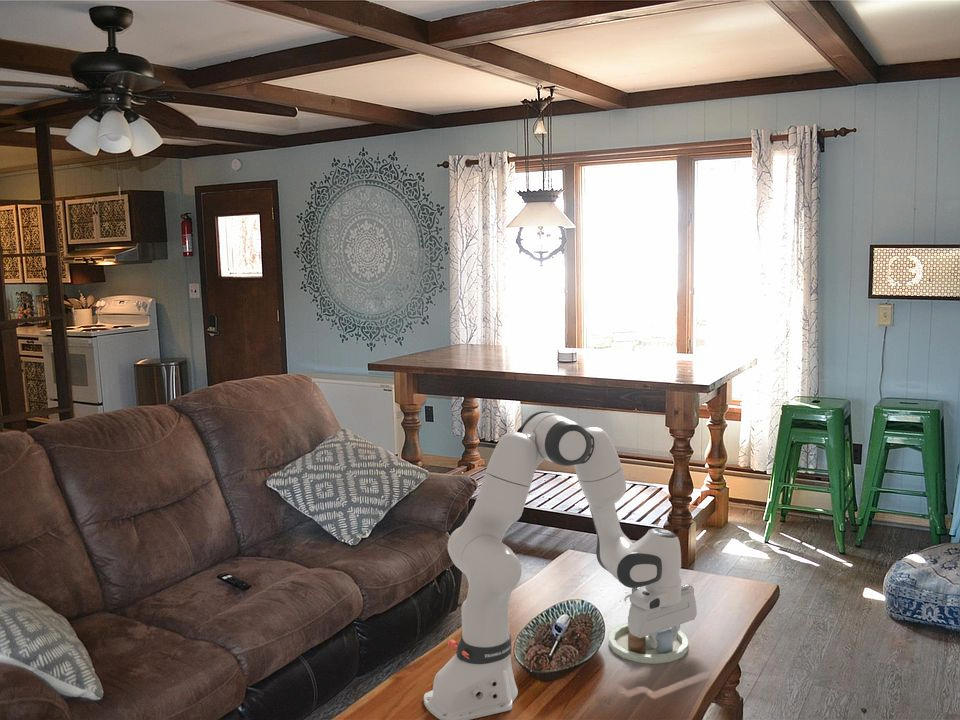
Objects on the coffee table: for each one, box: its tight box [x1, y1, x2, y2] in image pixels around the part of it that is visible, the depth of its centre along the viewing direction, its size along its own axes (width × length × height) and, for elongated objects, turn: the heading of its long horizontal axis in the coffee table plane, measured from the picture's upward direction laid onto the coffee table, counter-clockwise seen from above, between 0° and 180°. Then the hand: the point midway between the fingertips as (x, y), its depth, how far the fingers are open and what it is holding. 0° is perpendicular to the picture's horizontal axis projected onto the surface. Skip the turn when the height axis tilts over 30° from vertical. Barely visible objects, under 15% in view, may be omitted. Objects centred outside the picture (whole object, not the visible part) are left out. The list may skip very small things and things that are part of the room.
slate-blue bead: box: [655, 629, 673, 654], centre depth 215 cm, size 4×4×5 cm
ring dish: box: [608, 622, 689, 665], centre depth 220 cm, size 20×20×4 cm
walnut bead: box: [628, 632, 646, 654], centre depth 216 cm, size 4×4×5 cm
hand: (663, 644), depth 215 cm, fingers closed on slate-blue bead, 4 cm apart
